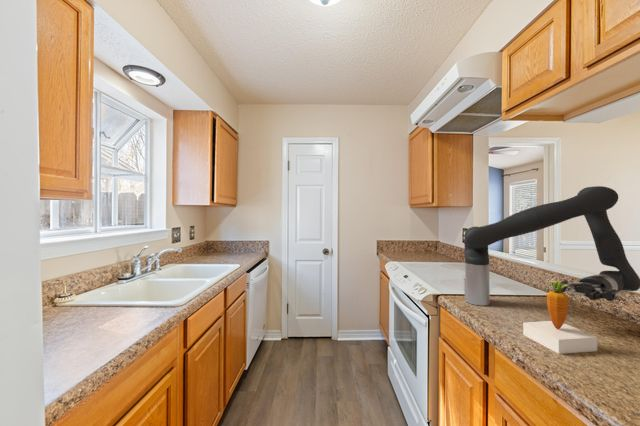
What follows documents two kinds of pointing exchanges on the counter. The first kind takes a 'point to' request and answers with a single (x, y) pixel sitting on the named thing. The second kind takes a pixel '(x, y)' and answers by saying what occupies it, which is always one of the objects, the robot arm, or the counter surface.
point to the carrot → (557, 305)
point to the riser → (560, 337)
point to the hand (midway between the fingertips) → (574, 293)
